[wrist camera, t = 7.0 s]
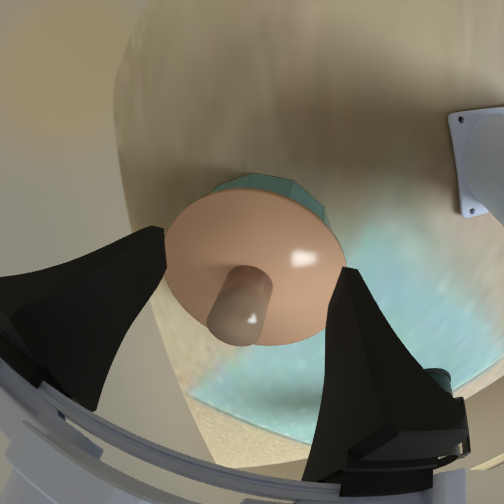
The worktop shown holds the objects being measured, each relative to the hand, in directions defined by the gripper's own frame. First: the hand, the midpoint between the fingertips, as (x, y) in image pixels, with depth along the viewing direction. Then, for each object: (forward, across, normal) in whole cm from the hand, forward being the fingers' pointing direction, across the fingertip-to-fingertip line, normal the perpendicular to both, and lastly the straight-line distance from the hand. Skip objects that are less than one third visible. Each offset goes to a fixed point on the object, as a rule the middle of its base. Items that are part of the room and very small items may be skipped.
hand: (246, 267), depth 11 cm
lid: (+6, +1, +6) cm, 9 cm away
